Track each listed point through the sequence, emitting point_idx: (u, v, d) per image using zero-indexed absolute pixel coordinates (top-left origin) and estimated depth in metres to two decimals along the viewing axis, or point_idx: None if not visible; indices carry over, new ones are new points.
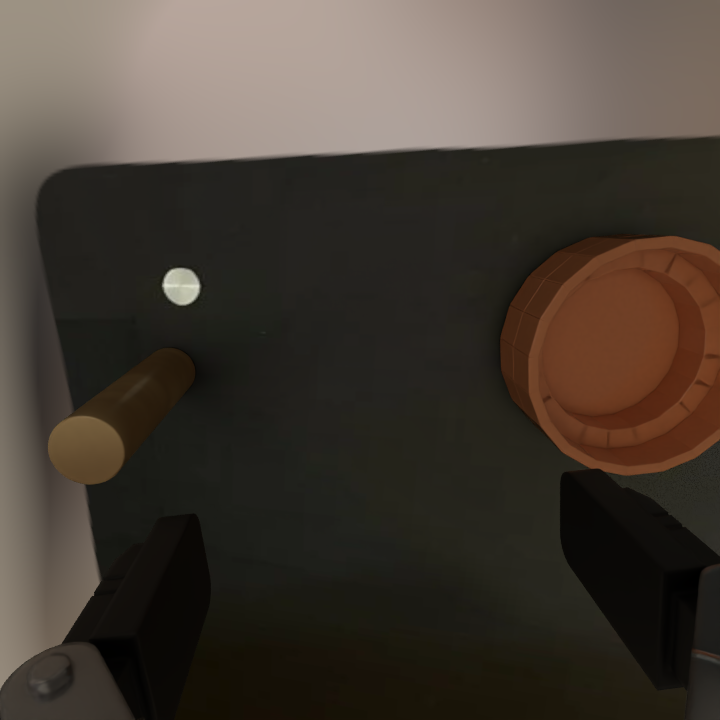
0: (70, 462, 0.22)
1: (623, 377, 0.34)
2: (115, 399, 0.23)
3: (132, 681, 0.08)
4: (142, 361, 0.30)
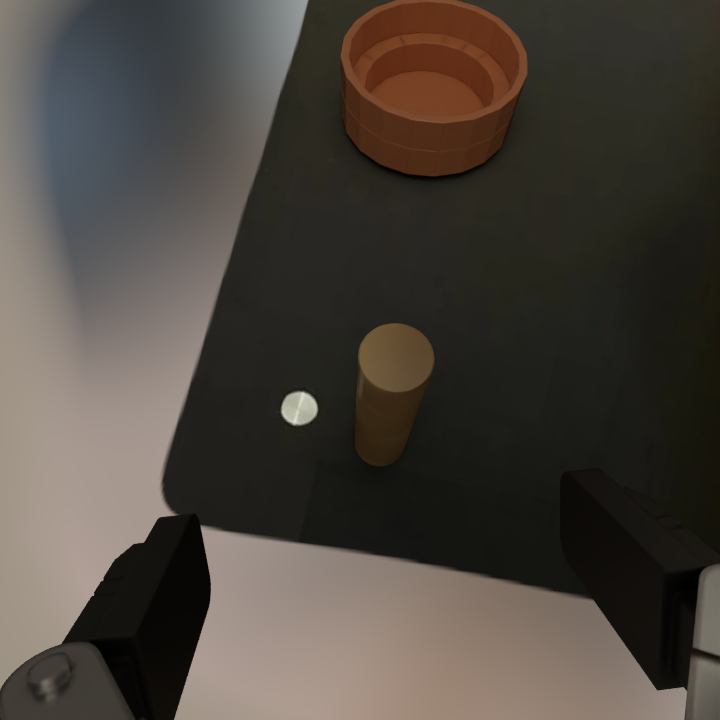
0: (405, 374, 0.21)
1: (456, 103, 0.43)
2: None
3: (132, 681, 0.08)
4: (355, 433, 0.29)
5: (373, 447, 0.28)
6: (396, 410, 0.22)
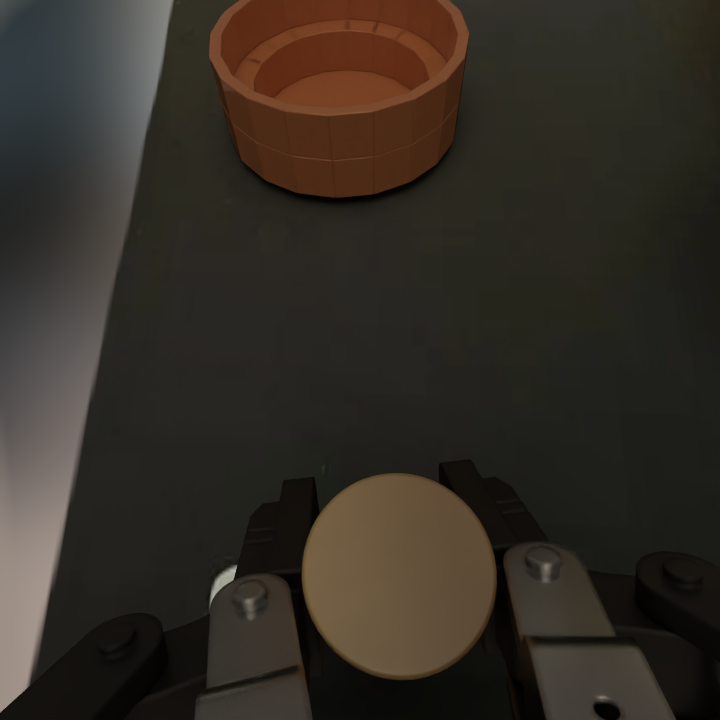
0: (434, 614, 0.08)
1: (381, 101, 0.32)
2: None
3: (303, 610, 0.09)
4: None
5: None
6: None
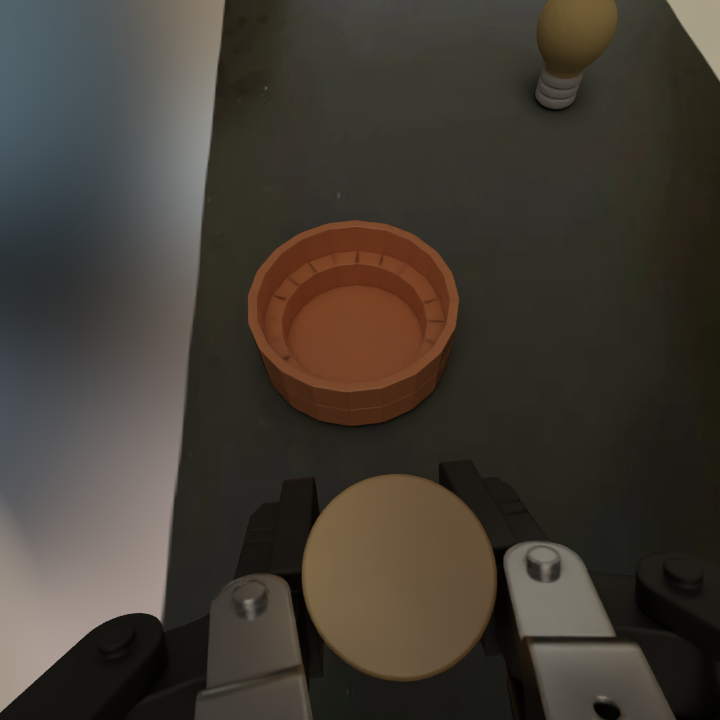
0: (434, 615, 0.08)
1: (386, 320, 0.39)
2: None
3: (303, 610, 0.09)
4: None
5: None
6: None
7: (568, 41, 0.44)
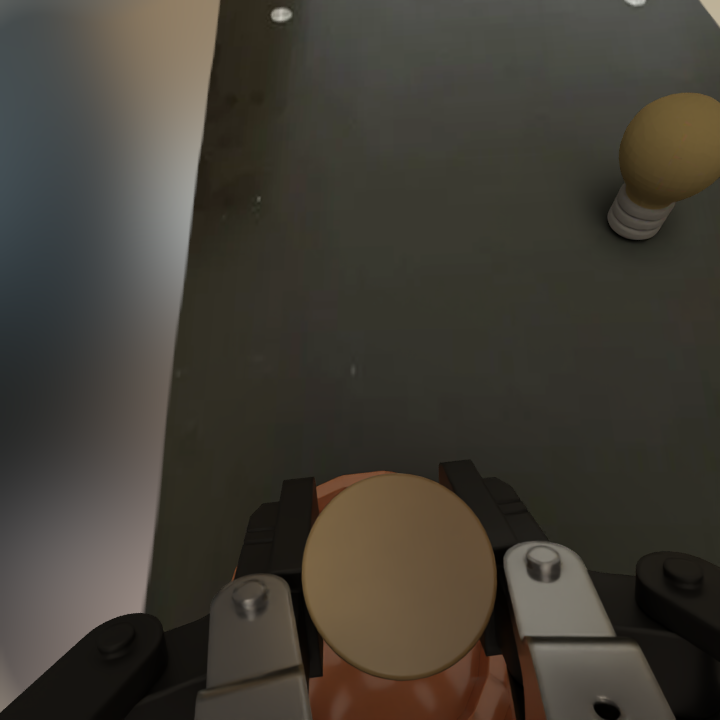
0: (434, 614, 0.08)
1: None
2: None
3: (304, 610, 0.09)
4: None
5: None
6: None
7: (669, 174, 0.32)
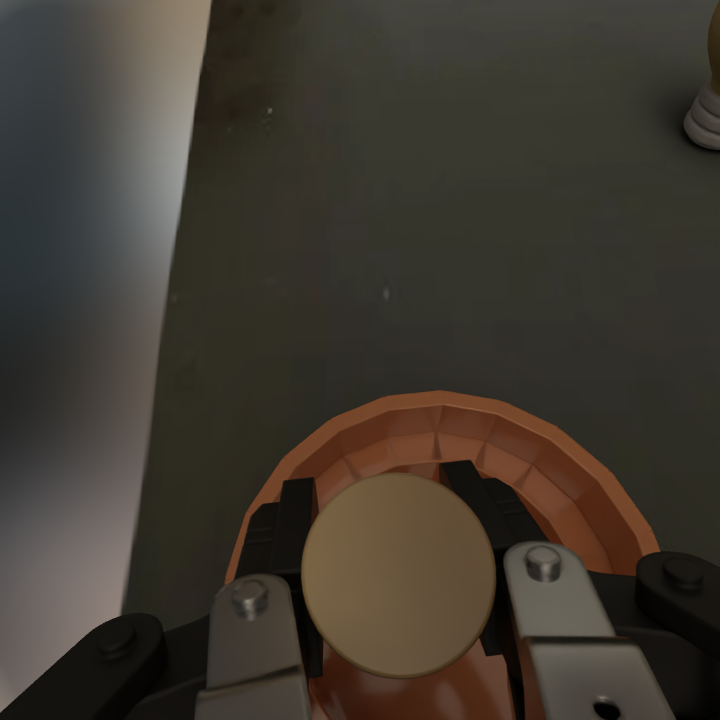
0: (433, 613, 0.08)
1: None
2: None
3: (303, 611, 0.09)
4: None
5: None
6: None
7: None
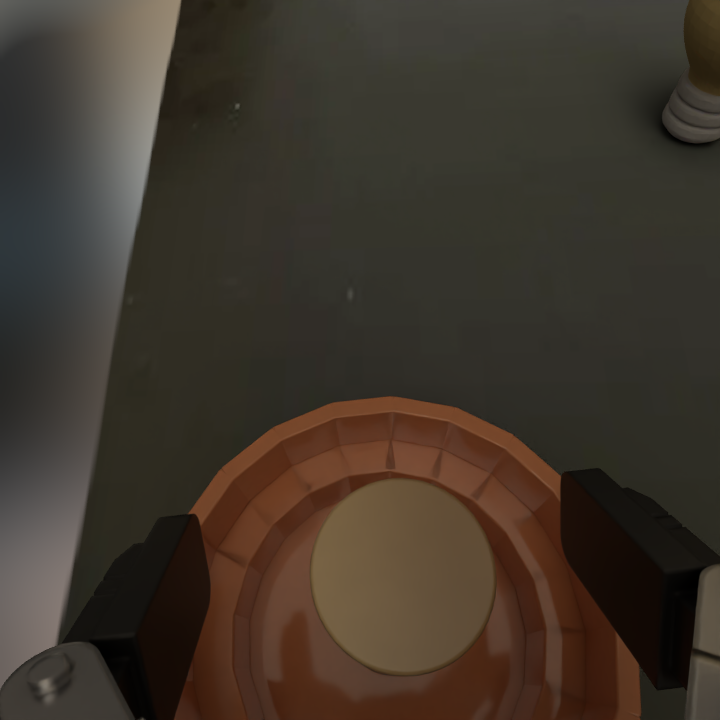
0: (436, 613, 0.08)
1: None
2: None
3: (132, 681, 0.08)
4: None
5: None
6: None
7: None
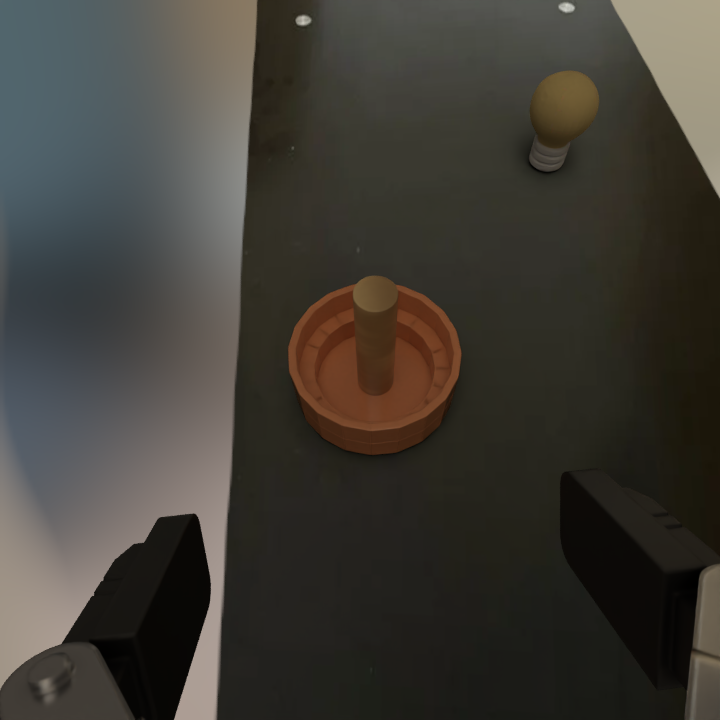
0: (383, 301, 0.35)
1: (400, 363, 0.46)
2: None
3: (132, 681, 0.08)
4: (358, 371, 0.43)
5: (373, 373, 0.41)
6: (382, 329, 0.36)
7: (556, 122, 0.52)
